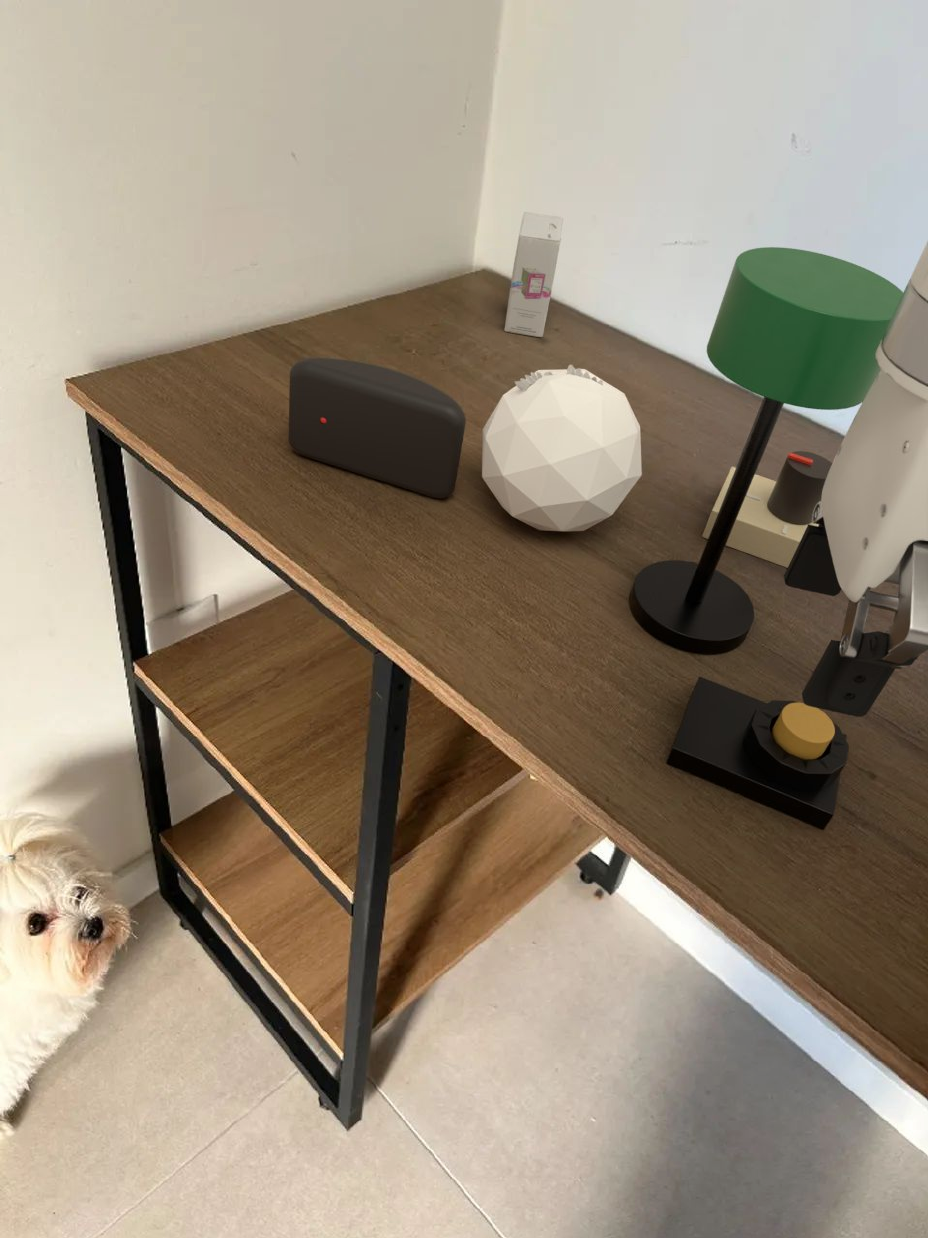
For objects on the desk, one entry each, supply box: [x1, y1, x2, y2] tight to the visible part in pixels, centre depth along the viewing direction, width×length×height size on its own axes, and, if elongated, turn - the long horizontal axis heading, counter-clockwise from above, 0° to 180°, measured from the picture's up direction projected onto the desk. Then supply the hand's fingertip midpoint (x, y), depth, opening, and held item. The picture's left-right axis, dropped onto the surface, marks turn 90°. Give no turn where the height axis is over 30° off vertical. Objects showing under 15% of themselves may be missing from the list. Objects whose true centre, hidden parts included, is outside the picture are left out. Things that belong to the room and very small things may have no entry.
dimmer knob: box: [767, 450, 833, 525], centre depth 84 cm, size 4×4×5 cm
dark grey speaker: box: [287, 357, 467, 499], centre depth 83 cm, size 16×5×9 cm, turn 71°
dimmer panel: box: [701, 466, 819, 569], centre depth 86 cm, size 13×9×3 cm
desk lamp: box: [628, 246, 904, 656], centre depth 68 cm, size 11×11×28 cm
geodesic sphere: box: [481, 364, 643, 532], centre depth 80 cm, size 15×14×14 cm
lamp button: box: [773, 702, 835, 759], centre depth 63 cm, size 4×4×2 cm
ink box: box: [503, 211, 564, 338], centre depth 112 cm, size 9×5×12 cm, turn 174°
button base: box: [666, 675, 850, 831], centre depth 65 cm, size 11×8×4 cm
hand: (819, 643), depth 50 cm, fingers open, 9 cm apart
